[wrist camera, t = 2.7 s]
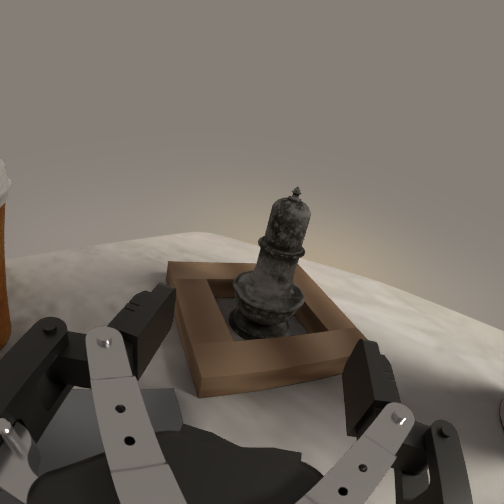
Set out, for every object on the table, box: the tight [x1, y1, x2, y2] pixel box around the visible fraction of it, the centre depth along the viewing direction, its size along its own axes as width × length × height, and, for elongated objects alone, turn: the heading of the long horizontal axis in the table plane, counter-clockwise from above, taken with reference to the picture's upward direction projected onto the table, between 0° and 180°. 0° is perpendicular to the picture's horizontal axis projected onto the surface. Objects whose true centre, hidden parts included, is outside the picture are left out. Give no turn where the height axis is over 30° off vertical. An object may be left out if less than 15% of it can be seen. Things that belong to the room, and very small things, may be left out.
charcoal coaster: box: [0, 388, 183, 504], centre depth 11 cm, size 11×11×1 cm
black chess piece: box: [229, 187, 311, 340], centre depth 24 cm, size 6×6×12 cm
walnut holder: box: [166, 261, 367, 398], centre depth 26 cm, size 14×14×2 cm
